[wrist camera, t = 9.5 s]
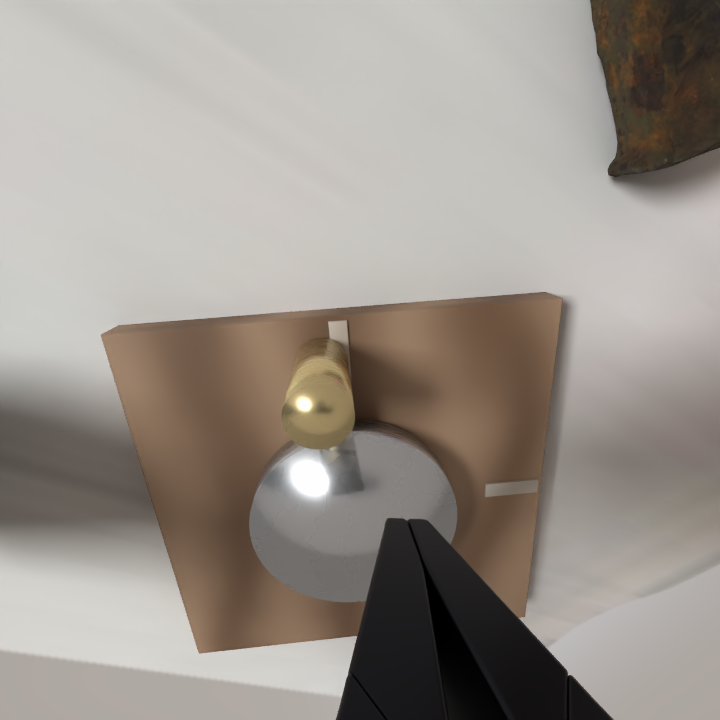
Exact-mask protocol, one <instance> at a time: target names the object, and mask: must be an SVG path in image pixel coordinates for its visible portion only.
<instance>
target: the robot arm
mask: <svg viewBox="0 0 720 720" xmlns="http://www.w3.org/2000/svg"><path fill="white" fill-rule="evenodd" d="M336 720H613V718H612V717H611V716H610V715H609V714H608V713H607V712H606V711H605V710H604V709H603V708H602V707H601V706H600V705H599V704H598V703H597V702H596V701H595V700H594V699H593V698H592V697H591V695H590V694H589V693H588V692H587V691H586V690H585V689H584V688H583V687H582V686H581V685H580V684H579V683H578V681H577V680H576V679H575V678H574V677H573V676H571V675H569V676H568V672H567V670H566V669H565V668H564V667H563V666H562V664H561V663H560V662H559V661H558V660H557V659H556V658H555V657H554V656H553V655H552V654H551V653H550V652H549V650H548V649H547V648H546V647H545V646H544V645H543V644H542V643H541V642H540V641H539V640H538V639H537V637H536V636H535V635H534V634H533V633H532V632H531V631H530V630H529V629H528V628H527V627H526V626H525V624H524V623H523V622H522V621H521V620H520V619H519V618H518V617H517V616H516V615H515V614H514V613H513V612H512V610H511V609H510V608H509V607H508V606H507V605H506V604H505V603H504V602H503V601H502V600H501V599H500V598H499V596H498V595H497V594H496V593H495V592H494V591H493V590H492V589H491V588H490V587H489V586H488V585H487V583H486V582H485V581H484V580H483V579H482V578H481V577H480V576H479V575H478V574H477V573H476V572H475V571H474V569H473V568H472V567H471V566H470V565H469V564H468V563H467V562H466V561H465V560H464V559H463V558H462V557H461V555H460V554H459V553H458V552H457V551H456V550H455V549H454V548H453V547H452V546H451V545H450V544H449V542H448V541H447V540H446V539H445V538H444V537H443V536H442V535H441V534H440V533H439V532H438V531H437V530H436V528H435V527H434V526H433V525H432V524H431V523H430V522H429V521H428V520H425V519H408V520H405V519H404V518H387V519H386V522H385V526H384V530H383V534H382V538H381V542H380V546H379V550H378V554H377V558H376V562H375V566H374V570H373V574H372V578H371V583H370V587H369V591H368V595H367V599H366V603H365V607H364V611H363V615H362V619H361V623H360V627H359V631H358V635H357V639H356V643H355V648H354V652H353V656H352V660H351V664H350V668H349V672H348V677H347V679H346V683H345V687H344V691H343V695H342V699H341V703H340V707H339V711H338V714H337V718H336Z"/></svg>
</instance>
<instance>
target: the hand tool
mask: <svg viewBox="0 0 720 720" xmlns="http://www.w3.org/2000/svg"><path fill="white" fill-rule="evenodd" d="M590 1H591V8H592V21H593V25H594V30H595V33H596V42H597V54H598V56H599V58H600V60H601V62H602V65H603V68H604V73H605V78H606V87H607V91H608V95H609V98H610V102H611V106H612V111H613V116H614V121H615V126H616V133H617V141H618V144H617V153H616V157H615V159H614V160H613V161H612V163H611V164H610V166H609V168H608V175H610V176H614V177H617V176H620V175H630V174H638V173H644V172H649V171H655V170H659V169H663V168H667V167H670V166H673V165H676V164H678V163H681V162H683V161H686V160H688V159H691V158H693V157H696V156H698V155H701V154H703V153H706V152H708V151H711V150H714V149H717V148H720V0H590Z"/></svg>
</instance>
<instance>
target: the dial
mask: <svg viewBox="0 0 720 720" xmlns="http://www.w3.org/2000/svg"><path fill="white" fill-rule="evenodd" d="M281 421H282V425H283V428H284V430H285V432H286V434H287V435H288V436H289V437H290V439H291V440H290V441H289V442H288V443H286V444H285V445H284V446H283V447H282V448H281V449H279V450H278V451H277V452H276V453H275V455H274V456H273V457H272V458H271V459H270V461H269V462H268V464H267V465H266V467H265V468H264V470H263V472H262V474H261V477H260V479H259V481H258V485H257V488H256V492H255V496H254V500H253V503H252V507H251V511H250V519H249V529H250V537H251V541H252V545H253V548H254V550H255V552H256V554H257V556H258V558H259V559H260V561H261V563H262V564H263V566H264V567H265V568H266V569H267V570H268V571H269V572H270V573H271V574H272V575H273V576H274V577H275V578H276V579H277V580H279V581H280V582H281V583H283V584H284V585H286V586H287V587H289V588H291V589H293V590H295V591H297V592H299V593H301V594H304V595H307V596H309V597H313V598H317V599H321V600H326V601H333V602H362V601H366V599H367V595H368V591H369V587H370V583H371V578H372V574H373V570H374V566H375V562H376V558H377V554H378V550H379V546H380V542H381V538H382V534H383V530H384V526H385V522H386V519H387V518H404V519H405V520H408V519H425V520H428V521H429V522H430V523H431V524H432V525H433V526H434V527H435V528H436V530H437V531H438V532H439V533H440V534H441V535H442V536H443V537H444V538H445V539H446V540H447V541H448V542H449V544H451V542H452V540H453V537H454V534H455V530H456V525H457V505H456V500H455V496H454V493H453V490H452V488H451V485H450V483H449V481H448V478H447V476H446V474H445V471H444V469H443V467H442V465H441V464H440V462H439V460H438V458H437V457H436V456H435V454H434V453H433V452H432V451H431V449H430V448H429V447H427V446H426V445H425V444H424V443H423V442H422V441H421V440H419V439H418V438H416V437H415V436H414V435H412V434H410V433H408V432H406V431H404V430H402V429H400V428H398V427H395V426H392V425H389V424H385V423H381V422H377V421H368V420H355V411H354V402H353V394H352V385H351V376H350V368H349V359H348V355H347V353H346V351H345V349H344V348H343V347H342V346H341V345H340V344H339V343H337V342H336V341H334V340H331V339H328V338H315V339H312V340H309V341H307V342H306V343H304V344H303V345H302V346H301V347H300V349H299V350H298V352H297V354H296V357H295V361H294V365H293V369H292V373H291V377H290V381H289V385H288V389H287V393H286V397H285V401H284V405H283V409H282V414H281Z"/></svg>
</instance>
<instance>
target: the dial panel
mask: <svg viewBox="0 0 720 720" xmlns="http://www.w3.org/2000/svg"><path fill="white" fill-rule="evenodd" d="M561 306H562V298H560V297H557V296H554V295H552V294H549V293H546V292H540V293H528V294H515V295H502V296H489V297H476V298H464V299H451V300H438V301H425V302H412V303H400V304H387V305H374V306H361V307H349V308H336V309H323V310H310V311H297V312H285V313H272V314H259V315H246V316H233V317H221V318H208V319H195V320H182V321H170V322H157V323H144V324H131V325H119V326H117V327H115V328H113V329H111V330H109V331H107V332H105V333H103V334H102V335H101V337H102V341H103V344H104V347H105V350H106V354H107V357H108V360H109V363H110V367H111V370H112V373H113V376H114V380H115V383H116V386H117V389H118V393H119V396H120V399H121V402H122V406H123V409H124V412H125V415H126V419H127V422H128V425H129V428H130V432H131V435H132V438H133V441H134V445H135V448H136V451H137V454H138V457H139V461H140V464H141V467H142V470H143V474H144V477H145V480H146V483H147V487H148V490H149V493H150V496H151V500H152V503H153V506H154V509H155V513H156V516H157V519H158V522H159V526H160V529H161V532H162V535H163V539H164V542H165V545H166V548H167V552H168V555H169V558H170V561H171V565H172V568H173V571H174V574H175V577H176V581H177V584H178V587H179V590H180V594H181V597H182V600H183V603H184V607H185V610H186V613H187V616H188V620H189V623H190V626H191V629H192V633H193V636H194V639H195V642H196V646H197V649H198V652H199V653H207V652H216V651H225V650H234V649H243V648H252V647H261V646H270V645H278V644H287V643H296V642H305V641H314V640H323V639H332V638H341V637H350V636H357V635H358V631H359V627H360V623H361V619H362V615H363V611H364V607H365V603H366V601H362V602H333V601H326V600H321V599H317V598H313V597H309V596H307V595H304V594H301V593H299V592H297V591H295V590H293V589H291V588H289V587H287V586H286V585H284V584H283V583H281V582H280V581H279V580H277V579H276V578H275V577H274V576H273V575H272V574H271V573H270V572H269V571H268V570H267V569H266V568H265V567H264V566H263V564H262V563H261V561H260V559H259V558H258V556H257V554H256V552H255V550H254V548H253V545H252V541H251V537H250V529H249V519H250V511H251V507H252V503H253V500H254V496H255V492H256V488H257V485H258V481H259V479H260V477H261V474H262V472H263V470H264V468H265V467H266V465H267V464H268V462H269V461H270V459H271V458H272V457H273V456H274V455H275V453H276V452H277V451H278V450H279V449H281V448H282V447H283V446H284V445H285V444H286V443H288V442H289V441H290V440H291V439H290V437H289V436H288V435H287V434H286V432H285V430H284V428H283V425H282V421H281V414H282V409H283V405H284V401H285V397H286V393H287V389H288V385H289V381H290V377H291V373H292V369H293V365H294V361H295V357H296V354H297V352H298V350H299V349H300V347H301V346H302V345H303V344H304V343H306V342H307V341H309V340H312V339H315V338H328V339H331V340H334V341H336V342H337V343H339V344H340V345H341V346H342V347H343V348H344V349H345V351H346V353H347V355H348V359H349V368H350V376H351V385H352V394H353V402H354V411H355V420H368V421H377V422H381V423H385V424H389V425H392V426H395V427H398V428H400V429H402V430H404V431H406V432H408V433H410V434H412V435H414V436H415V437H416V438H418V439H419V440H421V441H422V442H423V443H424V444H425V445H426V446H427V447H429V448H430V449H431V451H432V452H433V453H434V454H435V456H436V457H437V458H438V460H439V462H440V464H441V465H442V467H443V469H444V471H445V474H446V476H447V478H448V481H449V483H450V485H451V488H452V490H453V493H454V496H455V500H456V505H457V525H456V530H455V534H454V537H453V540H452V542H451V544H450V545H451V546H452V547H453V548H454V549H455V550H456V551H457V552H458V553H459V554H460V555H461V557H462V558H463V559H464V560H465V561H466V562H467V563H468V564H469V565H470V566H471V567H472V568H473V569H474V571H475V572H476V573H477V574H478V575H479V576H480V577H481V578H482V579H483V580H484V581H485V582H486V583H487V585H488V586H489V587H490V588H491V589H492V590H493V591H494V592H495V593H496V594H497V595H498V596H499V598H500V599H501V600H502V601H503V602H504V603H505V604H506V605H507V606H508V607H509V608H510V609H511V610H512V612H513V613H514V614H515V615H516V616H517V617H518V618H519V617H525V612H526V603H527V595H528V586H529V578H530V569H531V561H532V552H533V544H534V535H535V527H536V519H537V510H538V502H539V493H540V485H541V476H542V468H543V459H544V451H545V442H546V434H547V425H548V417H549V408H550V400H551V391H552V383H553V374H554V366H555V357H556V349H557V340H558V332H559V323H560V315H561Z"/></svg>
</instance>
